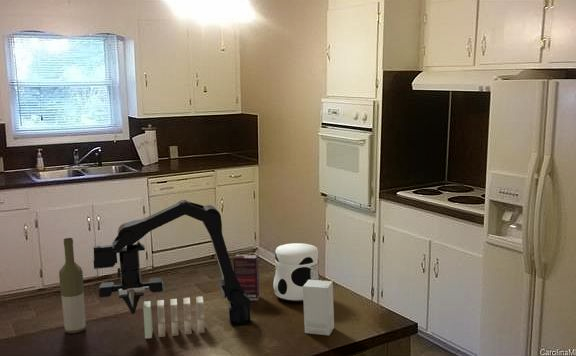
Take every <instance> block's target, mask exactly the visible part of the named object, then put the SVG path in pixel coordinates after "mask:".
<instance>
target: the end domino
mask: <svg viewBox="0 0 576 356" xmlns="http://www.w3.org/2000/svg"><path fill="white" fill-rule="evenodd" d="M195 302H196V303H195V304H196V305H195V306H196V326H197V328H196V329H197V334H202V333H204V334H205V333H206V332H205V331H206V330H205V313H204V312H205V310H204V309H205V307H204V297H203V296H200V295H199V296H195Z"/></svg>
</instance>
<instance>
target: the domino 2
mask: <svg viewBox="0 0 576 356" xmlns="http://www.w3.org/2000/svg"><path fill="white" fill-rule="evenodd" d="M156 312H157V330H158V338H164V337H166V317H165V315H166V314H165V300H164V299H160V300H158V299H157V301H156Z"/></svg>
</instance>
